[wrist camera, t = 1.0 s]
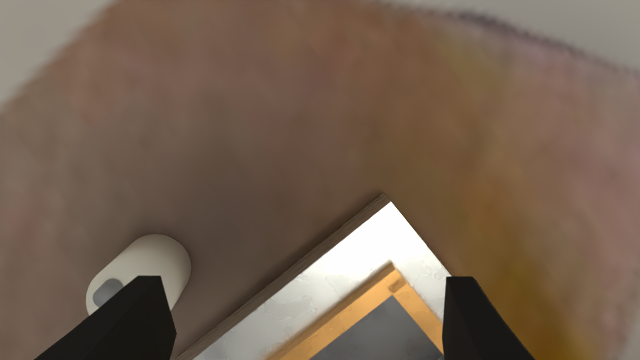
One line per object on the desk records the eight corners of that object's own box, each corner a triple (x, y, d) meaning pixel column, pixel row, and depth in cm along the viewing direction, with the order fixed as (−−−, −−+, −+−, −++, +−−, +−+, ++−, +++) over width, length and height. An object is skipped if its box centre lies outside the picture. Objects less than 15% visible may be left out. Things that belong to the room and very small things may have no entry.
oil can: (155, 311, 30) (117, 369, 24) (108, 263, 29) (56, 309, 23) (205, 270, 30) (180, 318, 23) (159, 220, 29) (120, 255, 23)
